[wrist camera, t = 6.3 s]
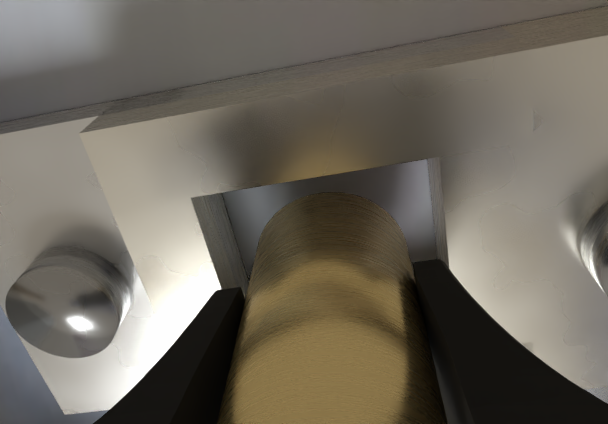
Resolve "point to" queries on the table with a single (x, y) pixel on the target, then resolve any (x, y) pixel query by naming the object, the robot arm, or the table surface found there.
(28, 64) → the table surface
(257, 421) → the brass pin
